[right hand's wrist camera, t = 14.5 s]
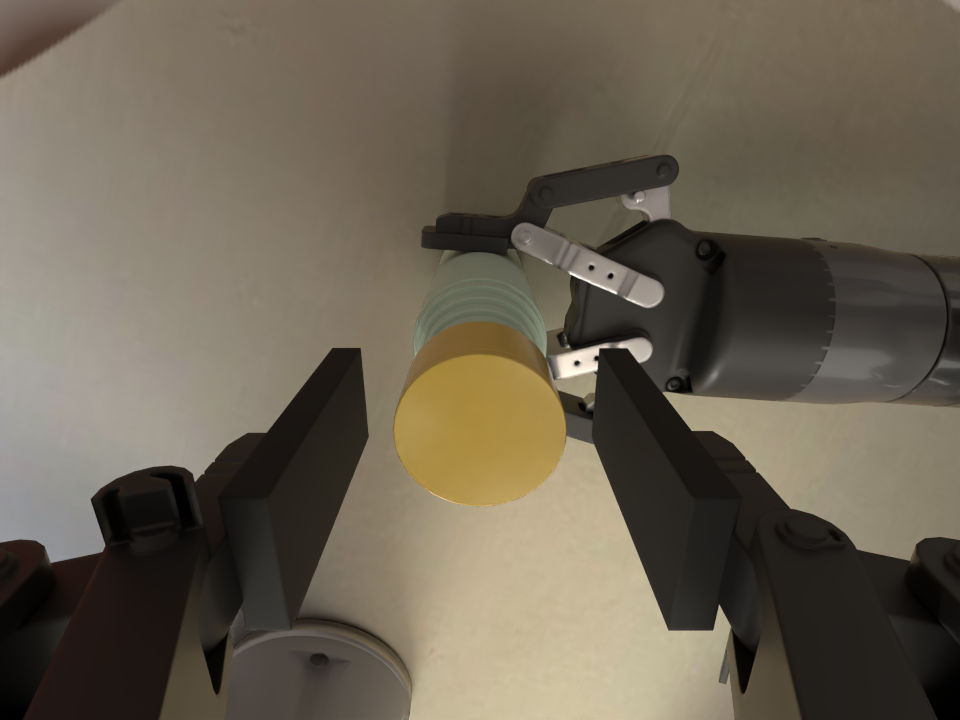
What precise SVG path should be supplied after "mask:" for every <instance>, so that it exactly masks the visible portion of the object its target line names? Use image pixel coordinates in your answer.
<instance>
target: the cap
mask: <svg viewBox="0 0 960 720" xmlns="http://www.w3.org/2000/svg"><path fill="white" fill-rule="evenodd" d="M566 434H567V425H566V417H565V412H564V409H563V406H562V403H561V400H560V397H559V394H558V391H557V388H556V385H555V382H554V378H553V375H552V372H551V370H550V367H549V364H548V362H547V360H546V358H545V356H544V354H543V353H542V352H541V350H540V349H539V348H538V347H537V346H536V345H535V343H534V342H533V341H532V340H530V339H529V338H528V337H526V336H525V335H524V334H522V333H521V332H519V331H517V330H515V329H513V328H511V327H508V326H506V325H502V324H499V323H494V322H487V321H475V322H466V323H462V324H457V325H455V326H452V327H449V328H447V329H445V330H443V331H441V332H439V333H438V334H436V335H435V336H434V337H432V338H431V339H430V340H429V341H428V342H427V343H425V344H424V345H423V347H422V348H421V349H420V350H419V352H418V353H417V355H416V357H415V358H414V360H413V362H412V365H411V367H410V370H409V373H408V376H407V378H406V381H405V384H404V387H403V390H402V393H401V396H400V399H399V403H398V405H397V409H396V412H395V416H394V424H393V435H394V442H395V447H396V450H397V453H398V456H399V458H400V460H401V462H402V464H403V466H404V467H405V469H406V470H407V471H408V473H409V474H410V475H411V477H412V478H413V479H414V480H415V481H416V482H417V483H418V484H420V485H421V486H422V487H423V488H424V489H426V490H427V491H429V492H431V493H432V494H434V495H436V496H438V497H440V498H442V499H444V500H447V501H450V502H453V503H457V504H462V505H469V506H492V505H498V504H503V503H507V502H510V501H513V500H516V499H518V498H520V497H522V496H524V495H526V494H528V493H529V492H531V491H533V490H534V489H535V488H537V487H538V486H539V485H541V484H542V483H543V482H544V481H545V480H546V479H547V478H548V477H549V475H550V474H551V473H552V471H553V470H554V469H555V467H556V465H557V464H558V462H559V460H560V458H561V456H562V453H563V451H564V447H565V442H566Z"/></svg>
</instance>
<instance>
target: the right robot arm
mask: <svg viewBox="0 0 960 720" xmlns="http://www.w3.org/2000/svg"><path fill="white" fill-rule="evenodd" d="M368 437H369V436H368V424H367V413H366V402H365V391H364V380H363V369H362V357H361V348H332V349H331V351H330V352H329V353H328V355H327V356H326V357H325V358H324V360H323V361H322V362H321V364H320V365H319V366H318V367H317V369H316V370H315V371H314V373H313V374H312V375H311V377H310V378H309V379H308V380H307V382H306V383H305V384H304V386H303V387H302V388H301V389H300V391H299V392H298V393H297V395H296V396H295V397H294V398H293V400H292V401H291V402H290V404H289V405H288V406H287V408H286V409H285V410H284V411H283V413H282V414H281V415H280V417H279V418H278V419H277V420H276V422H275V423H274V424H273V426H272V427H271V428H270V429H269V431H268V432H267V433H247V434H245V435H244V436H242V437H240V438H239V439H237V440H235V441H234V442H232V443H230V444H229V445H227V446H226V448H225V449H224V450H223V451H222V452H221V453H220V454H219V456H218V457H217V458H216V459H215V462H212V464H211V465H210V466H209V467H208V468H207V469H206V470H205V474H202V475H201V476H200V477H199V478H198V479H197V481H196V482H194V478H193V474H192V473H191V472H190V471H188V470H187V469H185V468H182V467H176V466H159V467H151V468H147V469H143V470H139V471H135V472H132V473H130V474H127V475H125V476H122V477H120V478H117V479H115V480H114V481H112V482H111V483H109V484H107V485H106V486H104V487H103V488H101V489H100V490H99V491H98V492H97V493H96V494H95V495H94V496H93V497H92V499H91V502H92V505H93V508H94V511H95V514H96V517H97V520H98V523H99V526H100V529H101V533H102V536H103V539H104V542H105V545H106V546H105V548H104V551H103V552H101V553H97V554H93V555H88V556H83V557H78V558H73V559H68V560H64V561H59V562H54V563H51V562H50V560H49V557H48V555H47V552H46V549H45V547H44V546H43V545H41V544H40V543H38V542H37V541H33V540H21V539H20V540H14V541H8V542H2V543H0V720H408V719H409V714H410V706H411V698H412V687H411V682H410V678H409V675H408V672H407V670H406V668H405V667H404V665H403V663H402V662H401V660H400V659H399V658H398V657H397V656H396V654H395V653H394V652H393V651H392V650H391V649H390V648H388V647H387V646H386V645H385V644H383V643H382V642H381V641H379V640H378V639H376V638H375V637H373V636H371V635H369V634H367V633H365V632H363V631H361V630H359V629H356V628H353V627H351V626H348V625H344V624H341V623H336V622H331V621H324V620H313V619H300V620H296V618H297V615H298V613H299V610H300V607H301V605H302V602H303V600H304V597H305V595H306V592H307V590H308V587H309V585H310V582H311V580H312V577H313V575H314V572H315V570H316V567H317V565H318V562H319V560H320V557H321V555H322V552H323V550H324V547H325V545H326V542H327V540H328V537H329V535H330V532H331V530H332V527H333V525H334V522H335V520H336V517H337V515H338V512H339V510H340V507H341V505H342V502H343V500H344V497H345V495H346V492H347V490H348V487H349V485H350V482H351V480H352V477H353V475H354V472H355V470H356V467H357V465H358V462H359V460H360V457H361V455H362V452H363V450H364V447H365V445H366V442H367V440H368ZM591 437H592V440H593V442H594V445H595V447H596V450H597V452H598V455H599V457H600V460H601V462H602V465H603V467H604V470H605V472H606V475H607V477H608V480H609V482H610V485H611V487H612V490H613V492H614V495H615V497H616V500H617V502H618V505H619V507H620V510H621V512H622V515H623V517H624V520H625V522H626V525H627V527H628V530H629V532H630V535H631V537H632V540H633V542H634V545H635V547H636V550H637V552H638V555H639V557H640V560H641V562H642V565H643V567H644V570H645V572H646V575H647V577H648V580H649V582H650V585H651V587H652V590H653V592H654V595H655V597H656V600H657V602H658V605H659V607H660V610H661V613H662V615H663V618H664V620H665V623H666V625H667V628H668V630H713V629H714V624H715V620H716V615H717V611H718V606H719V605H720V606H721V608H722V610H723V612H724V614H725V616H726V618H727V619H728V621H729V623H730V625H731V629H730V633H729V637H728V642H727V646H726V650H725V654H724V658H723V663H722V667H721V671H720V678H719V682H720V683H723V684H726V683H727V678H728V674H729V673H730V681H731V690H732V698H733V707H734V715H735V720H960V540H955V539H949V538H943V537H936V538H925V539H923V540H922V541H920V542H919V543H917V544H916V547H915V549H914V552H913V555H912V557H911V560H910V561H908V560H903V559H898V558H893V557H889V556H884V555H879V554H874V553H869V552H864V551H861V550H857V549H856V547H855V545H854V544H853V543H852V541H851V540H850V539H849V538H848V536H847V535H846V534H845V533H844V532H843V531H841V530H840V529H839V528H837V527H836V526H834V525H833V524H832V523H830V522H828V521H826V520H824V519H822V518H820V517H817V516H815V515H813V514H810V513H806V512H802V511H799V510H795V509H790V508H789V506H788V505H787V504H786V503H785V502H784V501H783V500H782V499H781V497H780V496H779V495H778V494H777V493H776V492H775V491H774V490H773V488H772V487H771V486H770V485H769V484H768V483H767V482H766V480H765V479H764V478H763V477H762V476H761V475H760V474H759V473H756V469H755V468H754V467H753V466H752V465H751V464H750V462H749V461H748V460H745V457H744V456H743V454H742V453H741V452H740V451H739V450H738V449H737V448H736V447H735V445H734V444H733V443H731V442H730V441H728V440H726V439H725V438H723V437H721V436H720V435H718V434H716V433H715V432H713V431H691V429H690V428H689V427H688V426H687V424H686V423H685V422H684V420H683V419H682V418H681V417H680V415H679V414H678V413H677V411H676V410H675V409H674V408H673V406H672V405H671V404H670V402H669V401H668V400H667V398H666V397H665V396H664V395H663V393H662V392H661V391H660V389H659V388H658V387H657V386H656V384H655V383H654V382H653V380H652V379H651V378H650V377H649V375H648V374H647V373H646V371H645V370H644V369H643V367H642V366H641V365H640V364H639V362H638V361H637V360H636V358H635V357H634V356H633V355H632V353H631V352H630V351H629V349H628V348H599V357H598V369H597V380H596V391H595V402H594V413H593V424H592V436H591ZM241 606H242V611H243V615H244V620H245V624H246V629H247V630H256V631H255V632H253V633H251V634H250V635H248V636H247V637H245V638H244V639H243V640H242V641H241V642H239V643H238V644H237V645H236V647H235V648H234V649H233V644H232V637H231V633H230V629H229V628H230V626H231V624H232V622H233V620H234V618H235V617H236V615H237V613H238V611H239V609H240V607H241Z"/></svg>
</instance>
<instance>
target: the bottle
mask: <svg viewBox="0 0 960 720" xmlns="http://www.w3.org/2000/svg"><path fill="white" fill-rule="evenodd" d="M475 321H487V322H494V323H499V324H502V325H506V326H508V327H511V328H513V329H515V330H517V331H519V332H521V333H522V334H524V335H525V336H526V337H528V338H529V339H530V340H532V341H533V342H534V343H535V345H536V346H537V347H538V348H539V349H540V350H541V352H542V353H543V354H544V356H545V358H546V351H547V334H546V328H545V324H544V321H543V318H542V316H541V313H540V311H539V308H538V305H537V303H536V300H535V298H534V295H533V292H532V290H531V287H530V285H529V282H528V280H527V277H526V274H525V272H524V269H523V267H522V264H521V262H520V259H519V256H518V254H517V252H516V250H515V249H508V250H507V254H494V253H486V252H467V251H454V250H445V251H444V253H443V255H442V257H441V260H440V263H439V265H438V268H437V270H436V273H435V275H434V278H433V280H432V283H431V286H430V288H429V291H428V293H427V296H426V298H425V301H424V303H423V306H422V309H421V311H420V314H419V316H418V319H417V322H416V325H415V329H414V336H413V345H414V358H415V357H416V355H417V353H418V352H419V350H420V349H421V348H422V347H423V345H424V344H425V343H427V342H428V341H429V340H430V339H431V338H432V337H434V336H435V335H436V334H438V333H439V332H441V331H443V330H445V329H447V328H449V327H452V326H455V325H457V324H462V323H466V322H475Z"/></svg>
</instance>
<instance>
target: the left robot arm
mask: <svg viewBox="0 0 960 720" xmlns="http://www.w3.org/2000/svg"><path fill="white" fill-rule="evenodd" d="M678 172H679V166H678V163H677V161H676V159H675V158H674V157H672V156H670V155H645V156H640V157H635V158H629V159H624V160H619V161H614V162H609V163H604V164H599V165H594V166H589V167H584V168H579V169H574V170H569V171H564V172H559V173H554V174H549V175H544V176H539V177H535V178H533V179H532V180H531V181H530V182H529V183H528V186H527V190H526V193H525V195H524V197H523V199H522V201H521V203H520V206H519V207H518V209H517V210H516V211H515V212H514V213H512V214H511V215H508V216H493V215H480V214H467V213H454V212H449V213H446V214H443V215H440V216H438V218H437V219H436V226H425V227H424V228H423V229H422V243H421V247H423V248H428V249H440V250H454V251H467V252H486V253H494V254H507V250H508V249H517V250H519V251H521V252H524V253H526V254H528V255H531V256H533V257H535V258H537V259H540V260H542V261H544V262H547V263H549V264H551V265H553V266H555V267H557V268H559V269H560V270H562V271H564V272H566V273H568V274H570V275H571V280H570V289H571V297H572V302H571V305H570V307H569V309H568V312H567V314H566V317H565V324H564V328H560V329H556V330H552V331H548V332H546V334H547V351H546V360H547V362H548V364H549V367H550V370H551V372H552V375H553V378H554V380H561V379H566V378H570V377H574V376H578V375H582V374H586V373H591V372H594V373H595V374H596V375H597V369H598V357H599V348H628V349H629V351H630V352H631V353H632V355H633V356H634V357H635V358H636V360H637V361H638V362H639V364H640V365H641V366H642V367H643V369H644V370H645V371H646V373H647V374H648V375H649V377H650V378H651V379H652V380H653V382H654V383H655V384H656V386H657V387H658V388H659V389H660V391H661V392H673V393H679V394H685V395H694V396H709V397H724V398H740V399H754V400H769V401H786V402H800V403H815V404H848V403H860V402H880V403H895V404H910V405H925V406H939V407H957V408H960V257H953V256H940V255H927V254H913V253H899V252H892V251H887V250H882V249H878V248H874V247H870V246H865V245H860V244H852V243H842V242H830V241H827V240H823V239H820V238H801V239H790V238H777V237H763V236H750V235H737V234H723V233H710V232H697V231H691V230H689V229H687V228H685V227H684V226H683V225H682V224H680V223H679V222H677V221H675V220H671V203H670V184H671V183H672V182H674V180H675V179H676V178H677V175H678ZM613 196H616V200H617V202H618V204H619V205H620V206H622V207H624V208H627V209H630V210H639V211H640V212H641V213H642V215H643V217H644V220H643V221H642V222H640V223H638V224H636V225H635V226H633V227H631V228H630V229H628V230H626V231H625V232H623V233H621V234H620V235H618V236H616V237H615V238H613V239H611V240H610V241H608V242H606V243H604V244H603V245H601V246H599V247H598V248H595V247H593V246H591V245H589V244H586V243H584V242H582V241H580V240H577V239H575V238H573V237H571V236H568V235H566V234H564V233H560V232H558V231H556V230H553V229H551V228H549V227H547V226H545V224H546V222H547V220H548V218H549V216H550V214H551V212H552V210H553V208H556V207H562V206H567V205H572V204H577V203H582V202H587V201H592V200H598V199H603V198H608V197H613ZM565 340H567V341H565ZM575 361H576V362H575ZM557 391H558V390H557ZM558 394H559V397H560V400H561V403H562V406H563V409H564V412H565V417H566V425H567V434H566V436H569V437H572V438H575V439H578V440H582V441H585V442H588V443H591V444H594V442H593V440H592V437H591V436H592V424H593V413H594V402H595V393H590V394H588V395H587V396H585V397H584V399H583V398H580V397H577V396H574V395H571V394H568V393H565V392H561V391H558Z"/></svg>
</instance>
